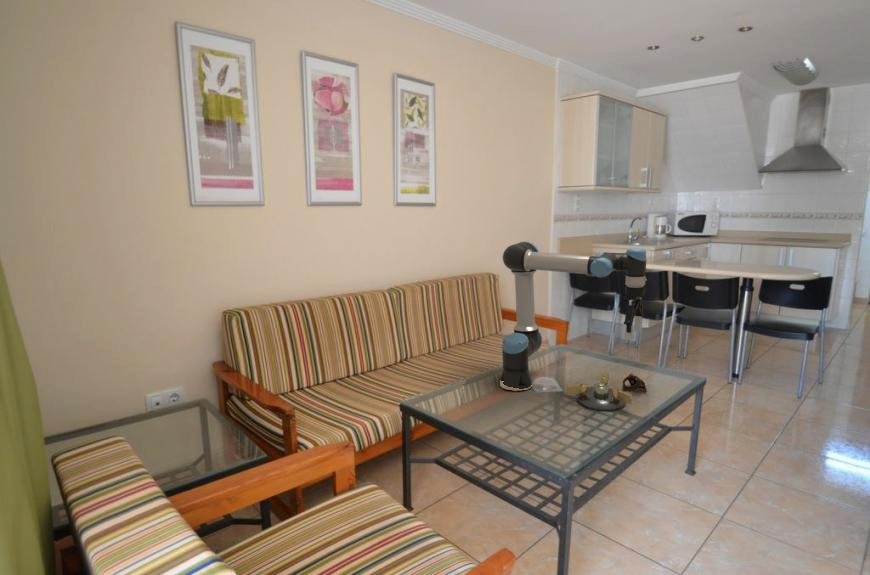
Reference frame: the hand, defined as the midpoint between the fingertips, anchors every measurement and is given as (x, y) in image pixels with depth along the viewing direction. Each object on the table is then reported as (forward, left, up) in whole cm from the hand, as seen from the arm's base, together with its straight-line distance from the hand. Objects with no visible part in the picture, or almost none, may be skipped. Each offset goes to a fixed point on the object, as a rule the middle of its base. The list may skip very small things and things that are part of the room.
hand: (633, 335), depth 200 cm
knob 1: (-20, -17, -24) cm, 35 cm away
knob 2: (-11, -2, -24) cm, 26 cm away
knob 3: (-2, -17, -24) cm, 29 cm away
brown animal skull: (+1, +3, -27) cm, 27 cm away
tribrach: (-11, -12, -26) cm, 31 cm away
